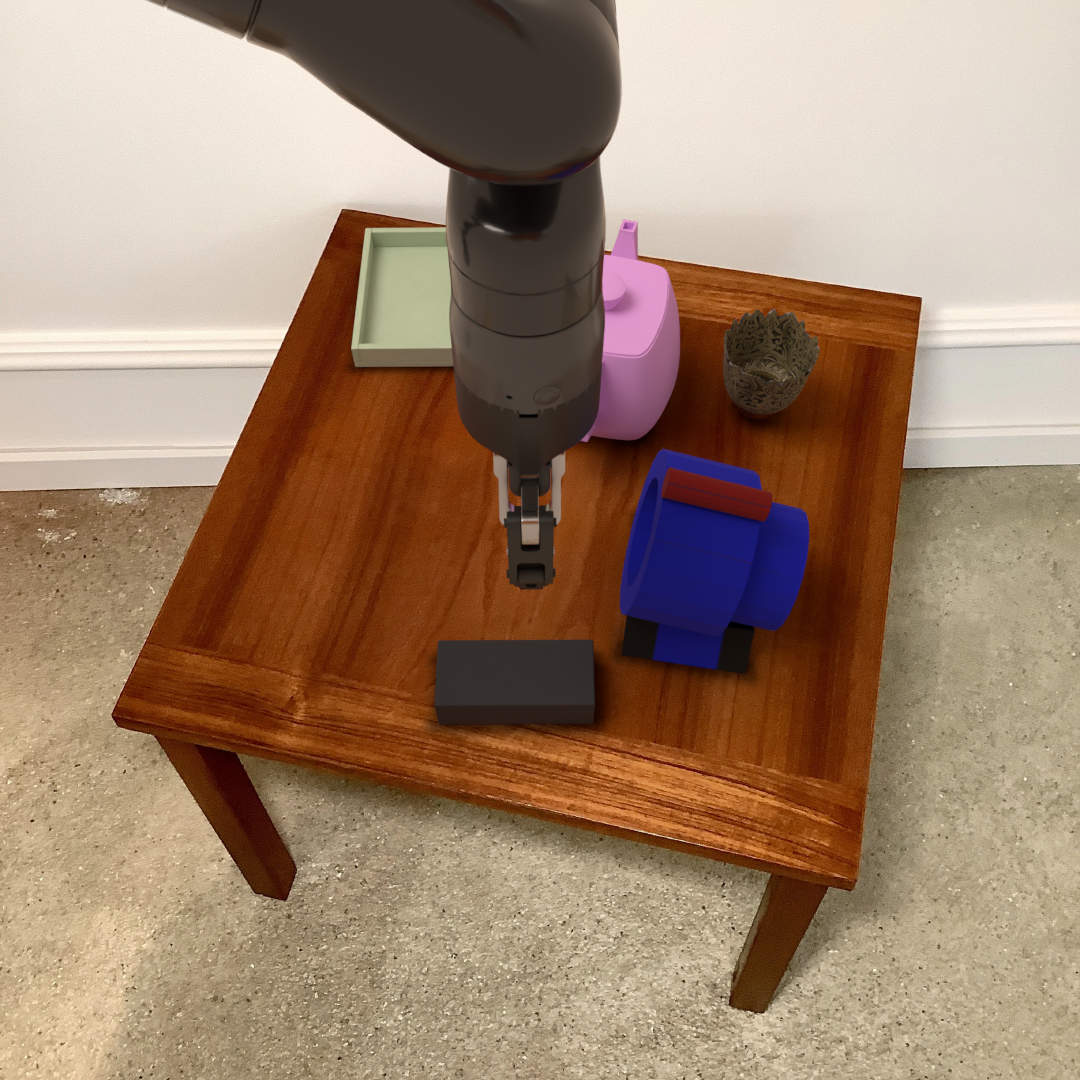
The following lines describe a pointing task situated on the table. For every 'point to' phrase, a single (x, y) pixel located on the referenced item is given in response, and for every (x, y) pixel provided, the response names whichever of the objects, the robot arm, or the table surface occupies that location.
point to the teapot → (635, 342)
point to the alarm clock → (708, 564)
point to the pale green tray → (403, 299)
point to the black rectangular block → (515, 682)
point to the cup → (767, 362)
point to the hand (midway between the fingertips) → (530, 522)
